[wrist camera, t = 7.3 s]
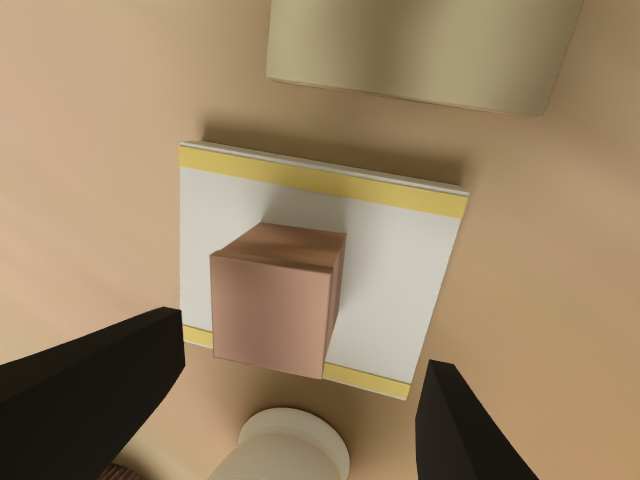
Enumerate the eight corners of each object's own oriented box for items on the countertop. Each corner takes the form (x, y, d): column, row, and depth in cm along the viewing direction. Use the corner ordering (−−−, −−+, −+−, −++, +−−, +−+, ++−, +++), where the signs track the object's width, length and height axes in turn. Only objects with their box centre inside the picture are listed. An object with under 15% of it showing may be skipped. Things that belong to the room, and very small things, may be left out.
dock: (460, 185, 16) (470, 193, 14) (403, 375, 20) (405, 402, 18) (201, 140, 18) (178, 141, 16) (197, 322, 22) (179, 341, 20)
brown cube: (347, 232, 16) (330, 274, 11) (339, 313, 17) (321, 379, 13) (259, 221, 17) (209, 255, 12) (258, 299, 18) (213, 357, 14)
